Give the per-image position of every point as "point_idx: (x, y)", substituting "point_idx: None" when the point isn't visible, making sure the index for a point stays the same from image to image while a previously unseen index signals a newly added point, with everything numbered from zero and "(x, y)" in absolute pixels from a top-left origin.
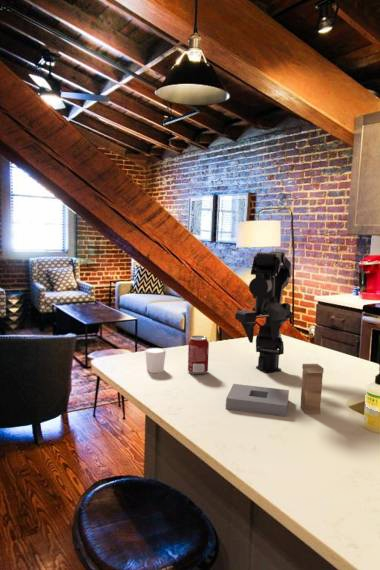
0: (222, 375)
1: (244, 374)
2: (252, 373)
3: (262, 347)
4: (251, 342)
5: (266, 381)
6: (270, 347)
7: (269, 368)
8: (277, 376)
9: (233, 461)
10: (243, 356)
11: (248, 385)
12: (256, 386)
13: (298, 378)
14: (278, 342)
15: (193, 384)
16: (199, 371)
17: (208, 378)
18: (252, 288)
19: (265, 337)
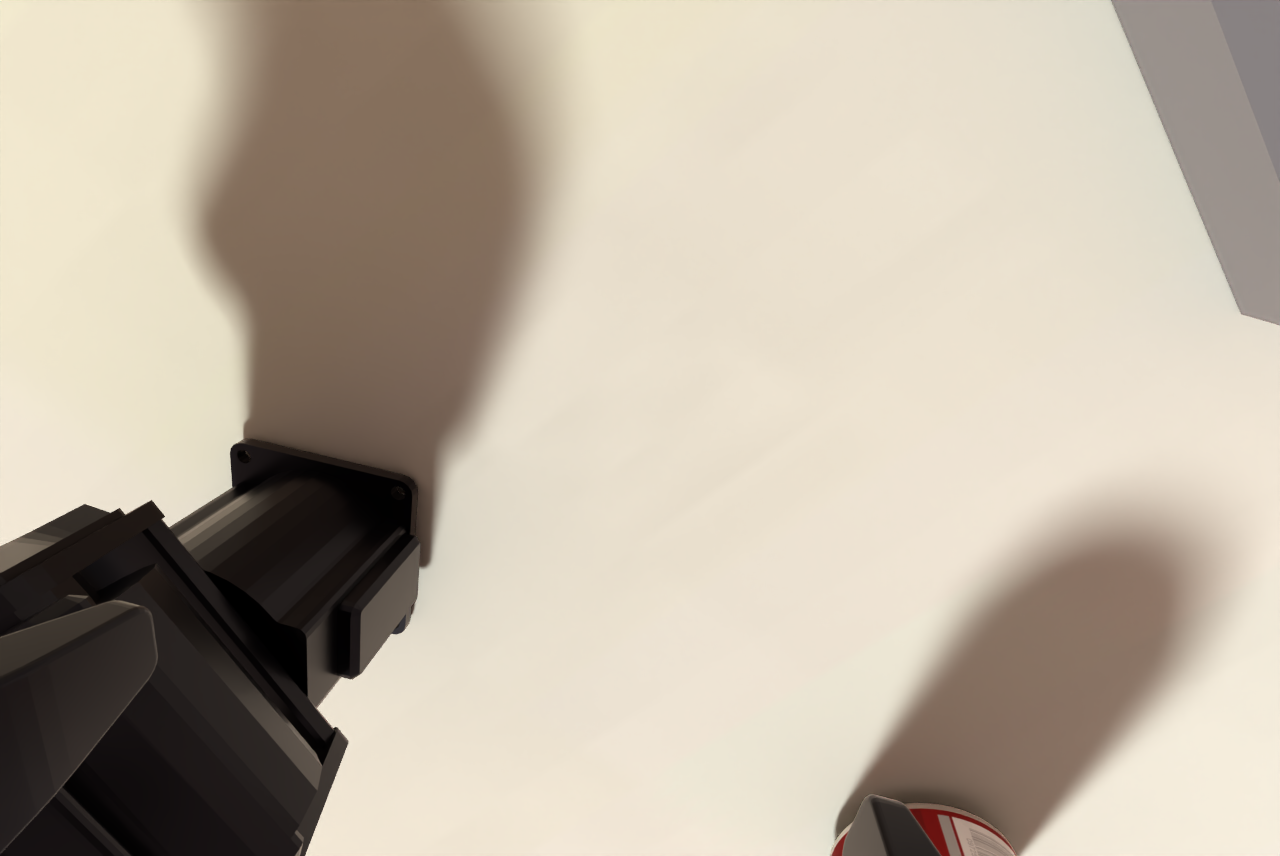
0: (817, 690)
1: (628, 589)
2: (543, 560)
3: (288, 725)
4: (906, 810)
5: (609, 334)
6: (206, 642)
7: (355, 504)
8: (395, 359)
9: None
10: None
11: (1272, 159)
12: (1239, 46)
13: (239, 175)
14: (12, 618)
15: (1249, 713)
16: (995, 838)
17: (989, 720)
18: None
19: (132, 850)
